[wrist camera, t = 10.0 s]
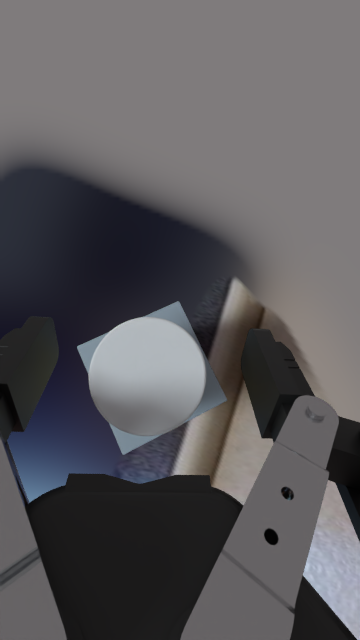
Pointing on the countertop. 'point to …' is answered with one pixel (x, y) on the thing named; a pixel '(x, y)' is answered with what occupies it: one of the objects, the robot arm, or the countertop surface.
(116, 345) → the supplement bottle
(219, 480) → the countertop surface
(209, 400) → the slate block
